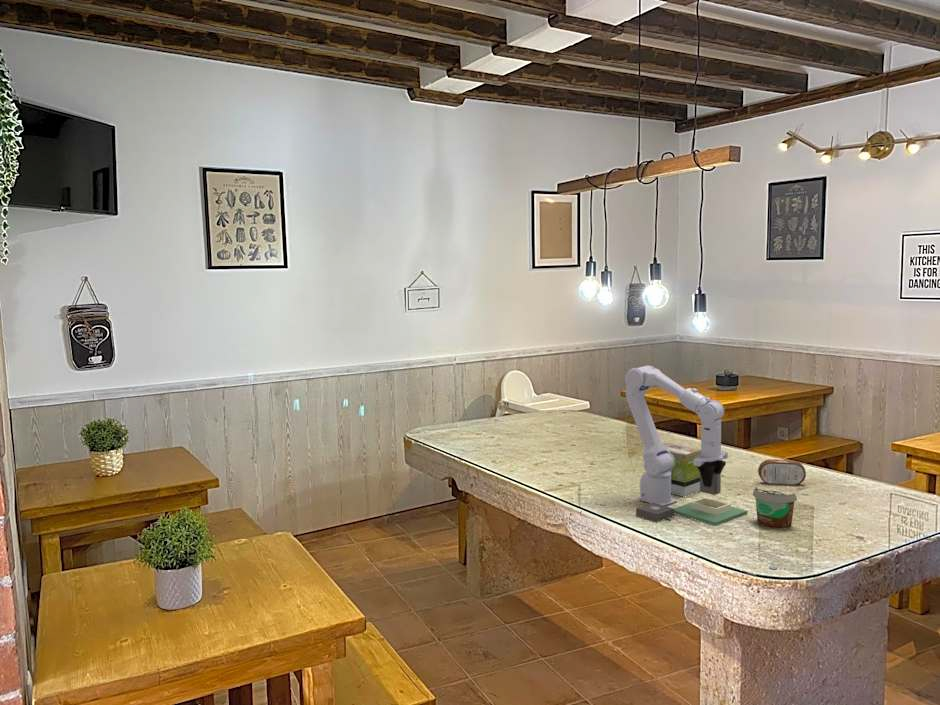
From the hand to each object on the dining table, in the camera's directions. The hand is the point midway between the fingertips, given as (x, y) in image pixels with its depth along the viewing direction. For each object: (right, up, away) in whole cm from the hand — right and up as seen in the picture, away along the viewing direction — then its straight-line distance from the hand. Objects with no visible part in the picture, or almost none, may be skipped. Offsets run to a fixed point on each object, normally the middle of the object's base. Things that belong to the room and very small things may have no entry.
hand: (710, 485), depth 224 cm
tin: (+34, -5, +28) cm, 44 cm away
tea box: (-4, -6, +25) cm, 26 cm away
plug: (0, -2, +1) cm, 2 cm away
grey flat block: (-17, -9, -2) cm, 19 cm away
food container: (+13, -10, -12) cm, 20 cm away
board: (-1, -9, 0) cm, 9 cm away
